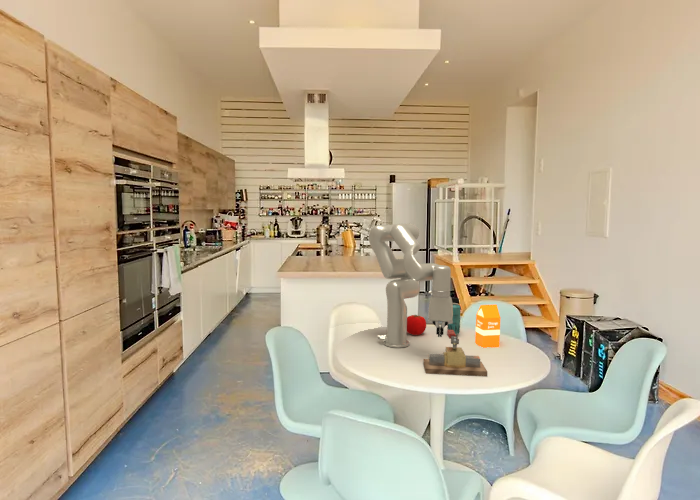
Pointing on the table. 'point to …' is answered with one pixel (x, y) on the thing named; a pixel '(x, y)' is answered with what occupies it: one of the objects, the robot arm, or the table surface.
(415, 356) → the table surface
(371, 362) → the table surface
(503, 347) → the table surface
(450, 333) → the lever
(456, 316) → the beverage bottle
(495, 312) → the orange juice
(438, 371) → the board
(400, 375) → the table surface
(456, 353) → the valve
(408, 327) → the tomato
